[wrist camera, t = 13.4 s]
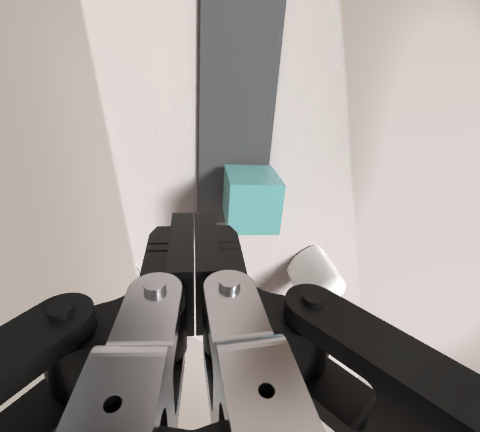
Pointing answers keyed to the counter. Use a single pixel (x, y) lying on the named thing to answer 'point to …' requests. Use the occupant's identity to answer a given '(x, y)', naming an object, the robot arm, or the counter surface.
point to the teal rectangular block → (253, 199)
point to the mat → (236, 89)
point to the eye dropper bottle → (315, 270)
